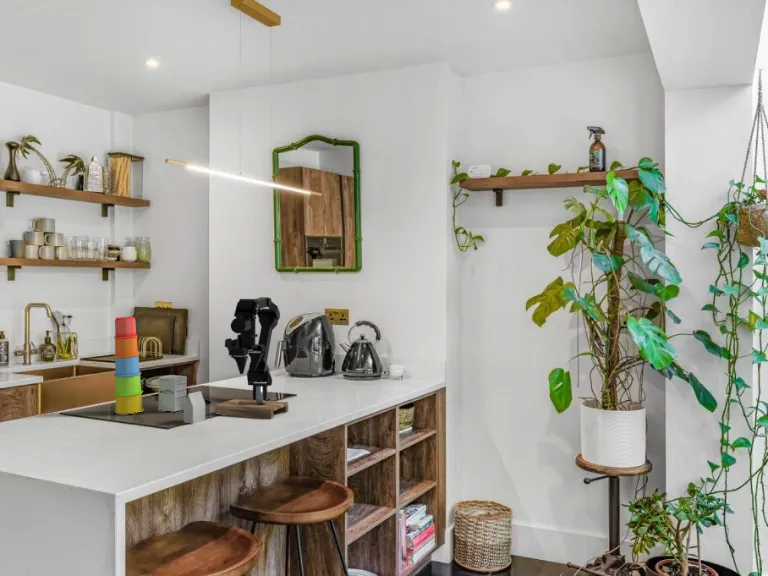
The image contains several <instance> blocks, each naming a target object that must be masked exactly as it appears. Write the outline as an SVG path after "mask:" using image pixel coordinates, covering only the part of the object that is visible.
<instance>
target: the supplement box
mask: <svg viewBox="0 0 768 576" xmlns="http://www.w3.org/2000/svg"><path fill="white" fill-rule="evenodd" d="M187 379H188V377H187V375H175V374H168V375H163V376H159V377H158V411H159V410H162V411H161V412H165V411H178V410H182V409H184V404H185V402H186V399H187V388H188V387H187V385H188V384H187V383H188V382H187Z"/></svg>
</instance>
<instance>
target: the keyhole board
mask: <svg viewBox="0 0 768 576" xmlns="http://www.w3.org/2000/svg"><path fill="white" fill-rule="evenodd" d="M281 412H287V413H289V402H288V401H273V400H272V401H271V400H267V401H263V405H256V400H250V399H245V398H244V399H243V398H234V399H230V400H226V401H222V402H221V403H218V404H215V405H214V414H215V413H220V414H225V415H230V416H229V417H237V416H241V418H250V417H252V418H253V419H254V418H255V419H264V418H265V419H266V420H267V419H268V420H272V419H274V418H275V417H274V413H281ZM271 418H272V419H271Z"/></svg>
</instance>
